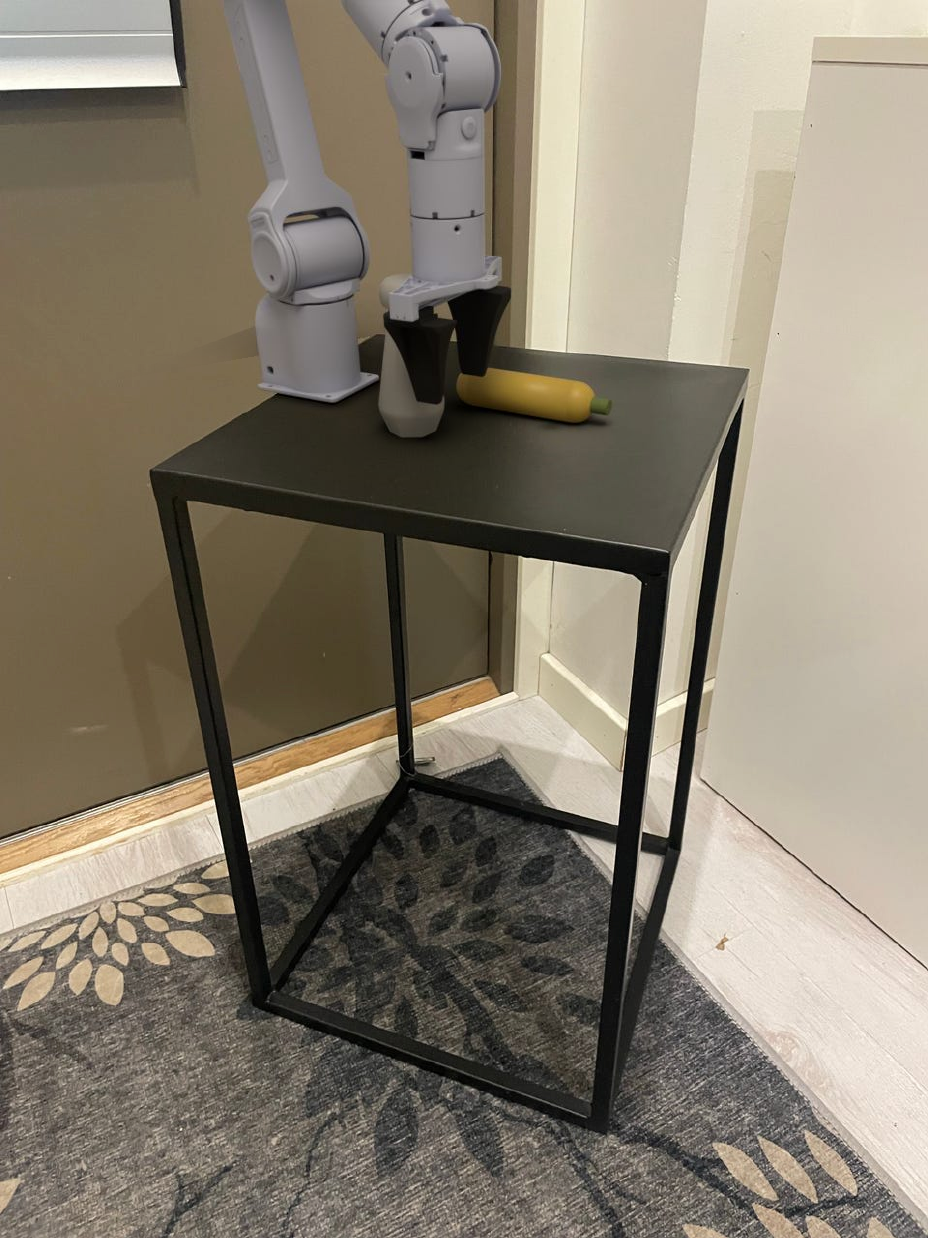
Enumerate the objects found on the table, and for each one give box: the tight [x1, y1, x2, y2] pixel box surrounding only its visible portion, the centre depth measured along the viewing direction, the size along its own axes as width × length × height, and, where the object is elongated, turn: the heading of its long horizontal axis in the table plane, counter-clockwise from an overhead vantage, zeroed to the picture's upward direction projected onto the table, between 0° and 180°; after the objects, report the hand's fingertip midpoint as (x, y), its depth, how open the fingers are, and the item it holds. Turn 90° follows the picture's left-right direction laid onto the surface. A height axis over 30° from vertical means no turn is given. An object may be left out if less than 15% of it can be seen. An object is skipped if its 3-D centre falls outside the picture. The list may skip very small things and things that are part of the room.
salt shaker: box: [377, 272, 446, 438], centre depth 78 cm, size 6×6×13 cm
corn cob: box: [455, 367, 613, 424], centre depth 83 cm, size 15×4×4 cm, turn 61°
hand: (452, 387), depth 77 cm, fingers open, 7 cm apart
